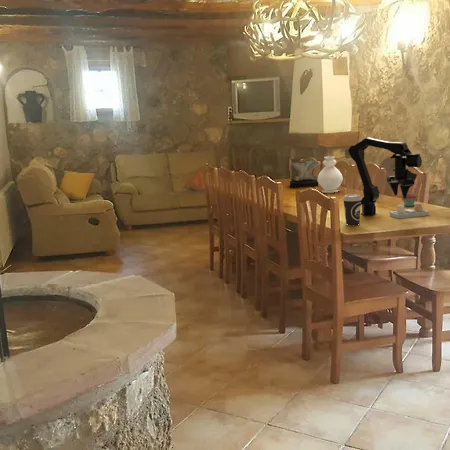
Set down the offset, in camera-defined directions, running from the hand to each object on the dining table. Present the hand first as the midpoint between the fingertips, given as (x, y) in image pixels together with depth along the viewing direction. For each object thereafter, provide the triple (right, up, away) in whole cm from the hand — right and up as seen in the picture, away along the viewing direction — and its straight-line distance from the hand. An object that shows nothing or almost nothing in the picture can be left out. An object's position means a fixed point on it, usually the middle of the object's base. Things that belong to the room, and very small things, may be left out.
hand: (400, 196), depth 280 cm
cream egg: (+1, -10, +2) cm, 10 cm away
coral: (-28, +15, +139) cm, 143 cm away
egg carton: (+6, -10, +3) cm, 12 cm away
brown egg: (+10, -9, +3) cm, 14 cm away
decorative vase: (-16, +9, +106) cm, 107 cm away
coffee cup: (-27, -15, -8) cm, 32 cm away
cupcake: (+16, -4, +33) cm, 37 cm away
